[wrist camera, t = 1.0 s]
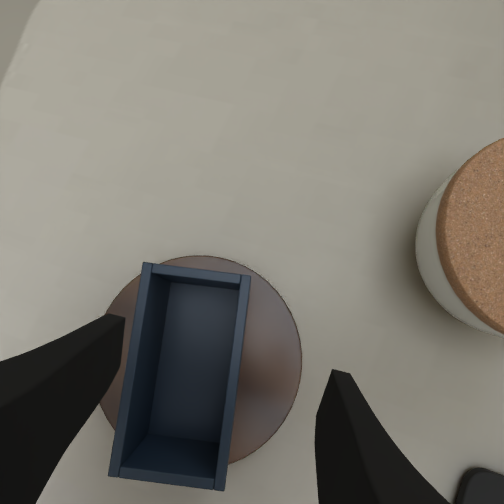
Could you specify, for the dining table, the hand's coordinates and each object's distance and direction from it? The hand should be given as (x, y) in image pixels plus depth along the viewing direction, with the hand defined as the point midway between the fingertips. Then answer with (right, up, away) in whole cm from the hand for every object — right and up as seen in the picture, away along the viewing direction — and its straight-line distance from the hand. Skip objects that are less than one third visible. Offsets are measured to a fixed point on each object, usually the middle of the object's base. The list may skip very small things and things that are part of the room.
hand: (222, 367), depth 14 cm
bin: (-2, -3, +12) cm, 12 cm away
